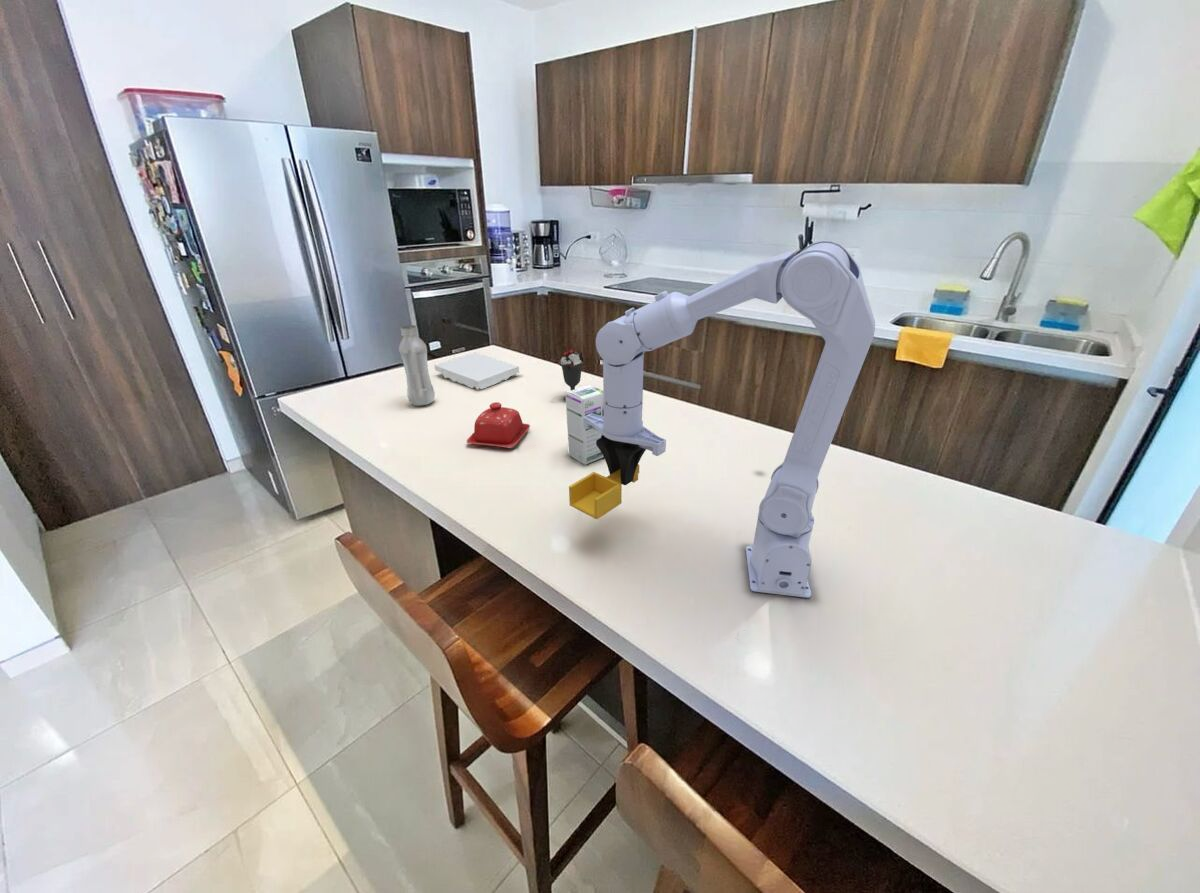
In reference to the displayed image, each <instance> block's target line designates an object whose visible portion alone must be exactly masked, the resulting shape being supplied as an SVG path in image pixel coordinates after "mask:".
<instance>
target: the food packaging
mask: <svg viewBox="0 0 1200 893" xmlns="http://www.w3.org/2000/svg"><path fill="white" fill-rule="evenodd" d="M434 370H435V371H436V372H438V373H441V374H442V376H443V378H444V379H450V381H452V382H454V383H455V382H457V383H458V384H461V385H465V386H466V387H467V388H470V389H476V390H477V391H479V390H483V389H486V388H489V387H490V386H494V385H496V384H499V383H501V382H502V381H507V380H508V379H509V378H511V376H515V375H517V374H519V373H520V366H519V365H516V364H513V363H510V362H507V361H504V360H501V359H497V358H495V357H491V356H489V355H486V354H483V353H479V352H476V351H474V352H471V353H468V354H465V355H461V356H459V357H456V358H455V357H454V358H452V359H449V360H445V361H443V362H439V363H437V364H434Z"/></svg>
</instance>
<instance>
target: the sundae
mask: <svg viewBox="0 0 1200 893" xmlns="http://www.w3.org/2000/svg"><path fill="white" fill-rule="evenodd" d="M562 346H563V347H564V353H563V356H562V357H561V359H560V360H558V365H559V366H560V367H561V370H562V376H563V380H564V383H565V384H566V385H567V386H568V387H569V388H570V391H571V390H574V389H576V386H578V385H579V384H580V382H581V377H582V376H581V375H582V369H583V364H585V360H584V356H585V355H584V353H583V352H580V354H579V353H578V352H576V351H574V350H573V349H571V348H569V347H568V346H567V344H563V345H562ZM567 349H568V352H567ZM563 400H564V401H565V402H566V397H565V396H564V397H563Z"/></svg>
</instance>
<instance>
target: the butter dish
mask: <svg viewBox="0 0 1200 893" xmlns="http://www.w3.org/2000/svg"><path fill="white" fill-rule="evenodd" d="M473 427H474V428H473V429H474V432H473V433H472V434H471V435H470V436H469V437H468V438H467V439H466V443H467V444H469V445H478V446H479V445H480V446H489V447H490V446H491V447H500V448H513V447H515V446H516V445H517V444H518V442H520V440H521V439H522V438H523V436H524V435H525V434H526V433H527V432H528V430H529V429H530V427H531V425H530V424H529V423H524V422H523V420H522V416H521V414H520V412H519V411H518V410H517V409H514V408H510V407H504V406H502V403H501V402H498V401H496V402H491V403H490V404H489V408H487V409H485V410H483V411H482V412H481V413H480V414H479V415H478V416H477V418H476V419H475V420H474V426H473Z"/></svg>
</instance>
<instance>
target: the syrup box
mask: <svg viewBox="0 0 1200 893" xmlns="http://www.w3.org/2000/svg"><path fill="white" fill-rule="evenodd" d="M564 393H565V396H564V397H566V401H565V411H566V428H567V441H568V442H567V443H568V455H569V456H570V457H572V458H573V459H574V460H576V461H578V462H579V463H581V464H583V465H584V466H587V465H588V464H590V463H593V462H595V461H598V460H600V459H604V456H603V454H602V453H601V451H600V449H599V448H598V447H597V445H596V441H597V440H598V439H599V438H601V436H602V434H601V433H600V432H599V431H597V430H594V429H592V428H591V429H585V428H584V424H583V417H585V416H587V415H589V414H591V413H592V414H595V415H600V416H604V400H603V390H602V389H600V388H598V387H595V386H593V385H589V384H587V385H585V386H581V387H577V388H575V389H574V390H571V389H570V390H567V391H565V392H564Z"/></svg>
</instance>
